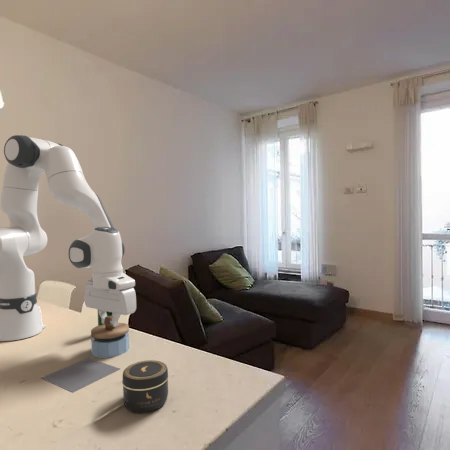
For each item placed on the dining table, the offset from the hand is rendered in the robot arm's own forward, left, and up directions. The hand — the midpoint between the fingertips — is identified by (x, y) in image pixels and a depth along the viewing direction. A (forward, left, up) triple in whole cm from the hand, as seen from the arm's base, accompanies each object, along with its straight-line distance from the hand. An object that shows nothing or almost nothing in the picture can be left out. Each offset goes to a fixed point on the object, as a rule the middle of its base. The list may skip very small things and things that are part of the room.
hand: (109, 324), depth 104 cm
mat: (+6, -14, -9) cm, 18 cm away
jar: (+30, -14, -9) cm, 34 cm away
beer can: (-15, +10, -9) cm, 20 cm away
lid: (0, 0, -2) cm, 2 cm away
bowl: (0, 0, -9) cm, 9 cm away
